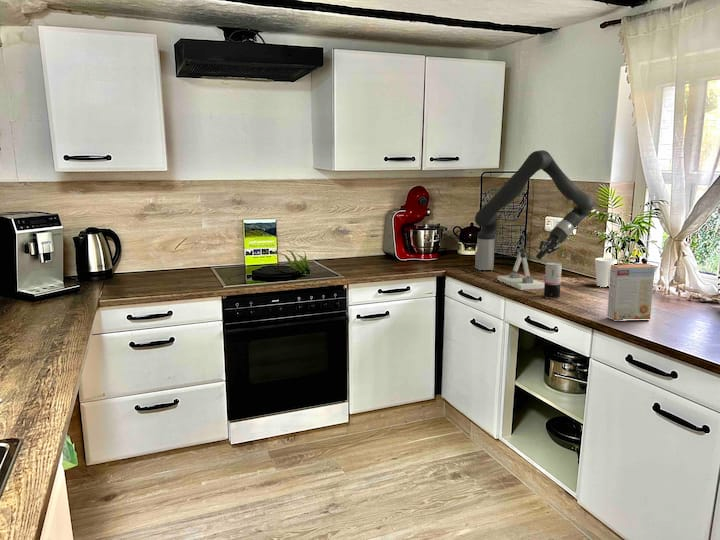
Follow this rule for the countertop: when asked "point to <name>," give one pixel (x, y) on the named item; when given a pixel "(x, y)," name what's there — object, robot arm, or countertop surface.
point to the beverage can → (552, 280)
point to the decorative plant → (300, 268)
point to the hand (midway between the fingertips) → (537, 258)
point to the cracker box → (630, 291)
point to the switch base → (521, 281)
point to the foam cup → (603, 270)
